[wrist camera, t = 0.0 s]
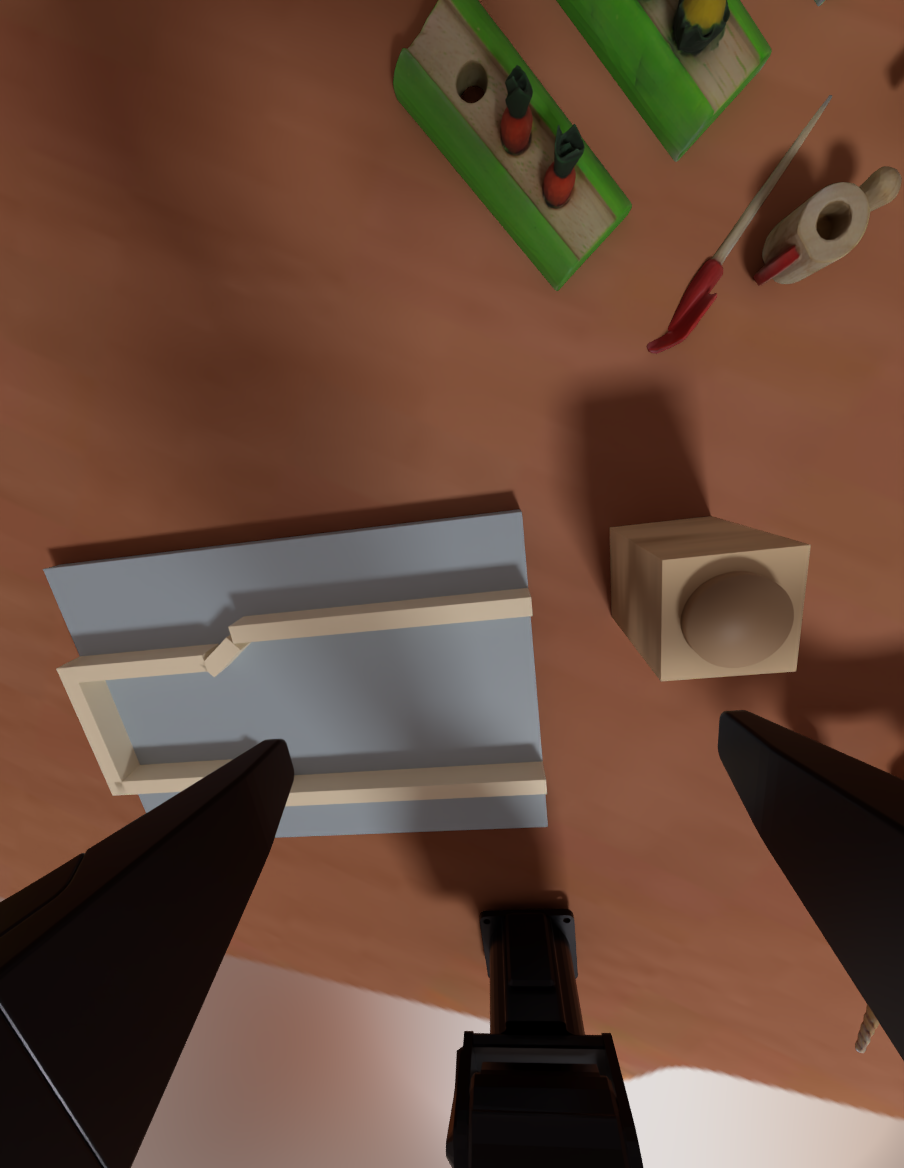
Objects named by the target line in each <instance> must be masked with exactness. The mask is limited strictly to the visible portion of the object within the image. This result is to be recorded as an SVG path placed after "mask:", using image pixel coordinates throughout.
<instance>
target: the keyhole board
mask: <svg viewBox="0 0 904 1168" xmlns="http://www.w3.org/2000/svg"><path fill="white" fill-rule="evenodd" d="M43 570H44V572H45V575H46V577H47V580H48V582H49V584H50V587H51V589H52V591H53V594H54V596H55V598H56V601H57V603H58V606H59V608H60V610H61V613H62V615H63V617H64V620H65V622H66V624H67V627H68V629H69V632H70V634H71V636H72V639H73V641H74V643H75V646H76V648H77V650H78V653H79V655H80V657H78V658H76V659H74V660H72V661H70V662H68V663H66V664H64V665H62V666H60V667H58V668H56V669H57V671H58V674H59V676H60V678H61V680H62V683H63V685H64V687H65V689H66V691H67V694H68V696H69V698H70V700H71V703H72V705H73V707H74V709H75V712H76V714H77V716H78V718H79V721H80V723H81V725H82V727H83V730H84V732H85V734H86V736H87V739H88V741H89V743H90V745H91V748H92V750H93V752H94V754H95V757H96V759H97V761H98V763H99V766H100V768H101V770H102V772H103V775H104V777H105V779H106V781H107V784H108V786H109V788H110V790H111V793H112V795H132V794H138V795H139V797H140V799H141V802H142V804H143V806H144V809H145V811H146V813H147V812H149V811H151V810H152V809H154V808H155V807H157V806H159V805H160V804H162V803H163V802H165V801H167V800H168V799H170V798H172V797H173V796H175V795H176V794H178V793H180V792H181V791H183V790H184V789H186V788H188V787H189V786H191V785H192V784H194V783H196V782H197V781H199V780H201V779H202V778H204V777H205V776H207V775H209V774H210V773H212V772H213V771H215V770H217V769H218V768H220V767H222V766H223V765H225V764H226V763H228V762H230V761H231V760H233V759H234V758H236V757H238V756H239V755H241V754H242V753H244V752H246V751H247V750H249V749H251V748H252V747H254V746H255V745H257V744H259V743H260V742H262V741H264V740H267V739H283V740H285V741H286V743H287V746H288V749H289V753H290V756H291V760H292V763H293V767H294V781H293V784H292V787H291V790H290V793H289V796H288V799H287V802H286V805H285V808H284V811H283V814H282V817H281V820H280V823H279V826H278V829H277V832H276V835H275V838H276V837H301V836H326V835H352V834H377V833H403V832H428V831H453V830H479V829H504V828H529V827H548V822H547V810H546V798H545V794H547V788H546V778H545V772H544V767H543V762H542V750H541V738H540V726H539V714H538V701H537V689H536V677H535V665H534V653H533V641H532V629H531V617H530V616H533V615H532V603H531V596H530V592H529V589H528V581H527V569H526V557H525V544H524V532H523V520H522V511H521V510H520V509H518V510H510V511H502V512H493V513H485V514H477V515H469V516H460V517H452V518H444V519H435V520H427V521H419V522H411V523H402V524H394V525H386V526H377V527H369V528H361V529H352V530H344V531H336V532H328V533H319V534H311V535H303V536H294V537H286V538H278V539H270V540H261V541H253V542H245V543H236V544H228V545H220V546H211V547H203V548H195V549H187V550H178V551H170V552H162V553H153V554H145V555H137V556H129V557H120V558H112V559H104V560H95V561H87V562H79V563H70V564H62V565H57V566H53V567H50V568H46V569H43Z"/></svg>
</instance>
